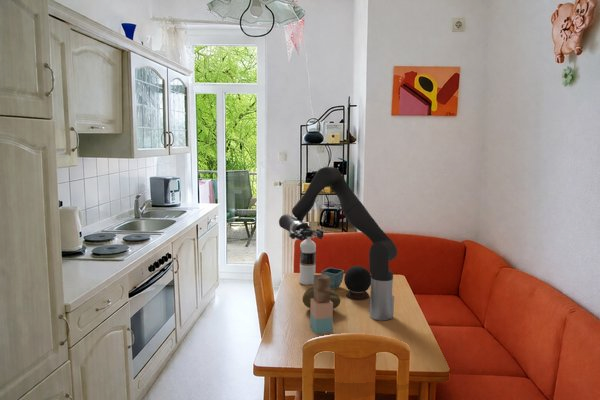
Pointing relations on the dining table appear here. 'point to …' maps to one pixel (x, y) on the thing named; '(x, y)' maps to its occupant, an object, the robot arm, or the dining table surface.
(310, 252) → the vodka
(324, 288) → the pillar
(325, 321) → the tower base
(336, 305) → the decorative stone
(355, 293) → the black ball on stand
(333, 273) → the flower pot
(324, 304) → the tower top
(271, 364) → the dining table surface
